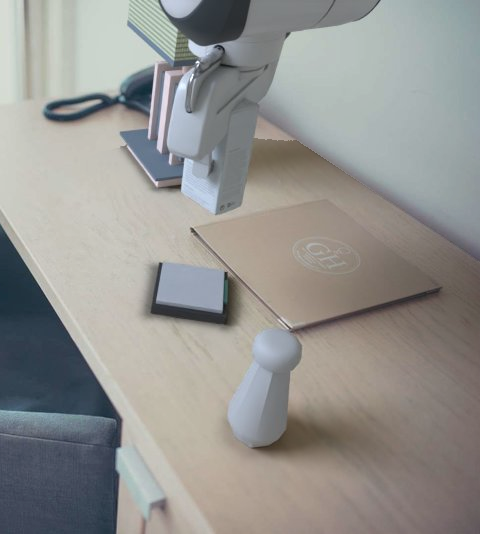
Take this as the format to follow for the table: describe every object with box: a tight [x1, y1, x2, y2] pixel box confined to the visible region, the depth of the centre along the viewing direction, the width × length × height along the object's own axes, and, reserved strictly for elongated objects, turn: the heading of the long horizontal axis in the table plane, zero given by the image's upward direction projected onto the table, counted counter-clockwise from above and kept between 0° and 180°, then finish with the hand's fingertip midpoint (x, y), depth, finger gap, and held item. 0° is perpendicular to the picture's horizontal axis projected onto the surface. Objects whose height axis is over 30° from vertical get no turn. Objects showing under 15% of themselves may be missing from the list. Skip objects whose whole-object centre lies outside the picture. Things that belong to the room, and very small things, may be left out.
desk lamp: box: [119, 0, 199, 189], centre depth 99 cm, size 18×14×33 cm
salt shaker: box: [227, 327, 303, 449], centre depth 61 cm, size 6×6×13 cm
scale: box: [150, 261, 229, 325], centre depth 81 cm, size 9×9×2 cm
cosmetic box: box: [180, 98, 261, 216], centre depth 69 cm, size 6×4×12 cm
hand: (214, 161), depth 70 cm, fingers closed on cosmetic box, 5 cm apart
